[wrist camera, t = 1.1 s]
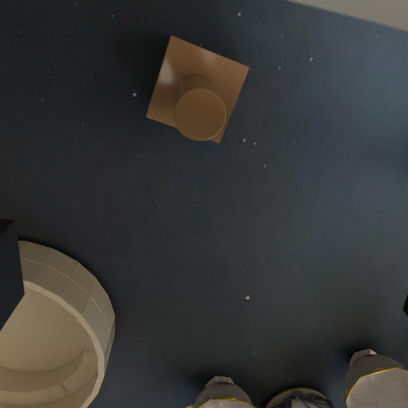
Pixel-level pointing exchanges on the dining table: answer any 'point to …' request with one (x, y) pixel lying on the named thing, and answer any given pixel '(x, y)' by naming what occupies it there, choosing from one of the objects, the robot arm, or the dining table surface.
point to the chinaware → (315, 400)
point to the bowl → (55, 334)
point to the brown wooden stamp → (196, 90)
